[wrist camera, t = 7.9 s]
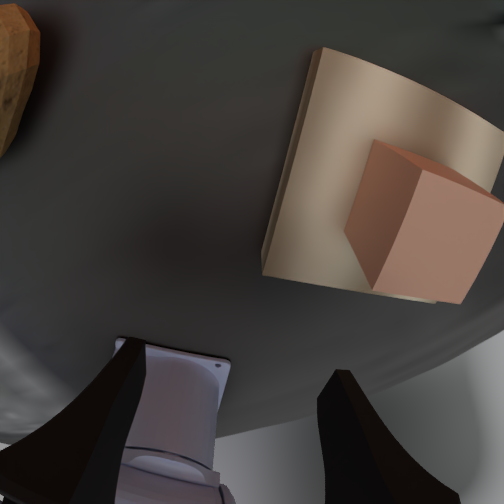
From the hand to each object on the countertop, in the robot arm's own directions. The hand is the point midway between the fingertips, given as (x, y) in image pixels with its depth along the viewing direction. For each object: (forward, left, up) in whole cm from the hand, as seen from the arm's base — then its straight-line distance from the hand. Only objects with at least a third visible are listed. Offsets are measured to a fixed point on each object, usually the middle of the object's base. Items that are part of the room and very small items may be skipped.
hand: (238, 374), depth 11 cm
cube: (+7, +6, -7) cm, 12 cm away
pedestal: (+7, +6, -10) cm, 14 cm away
